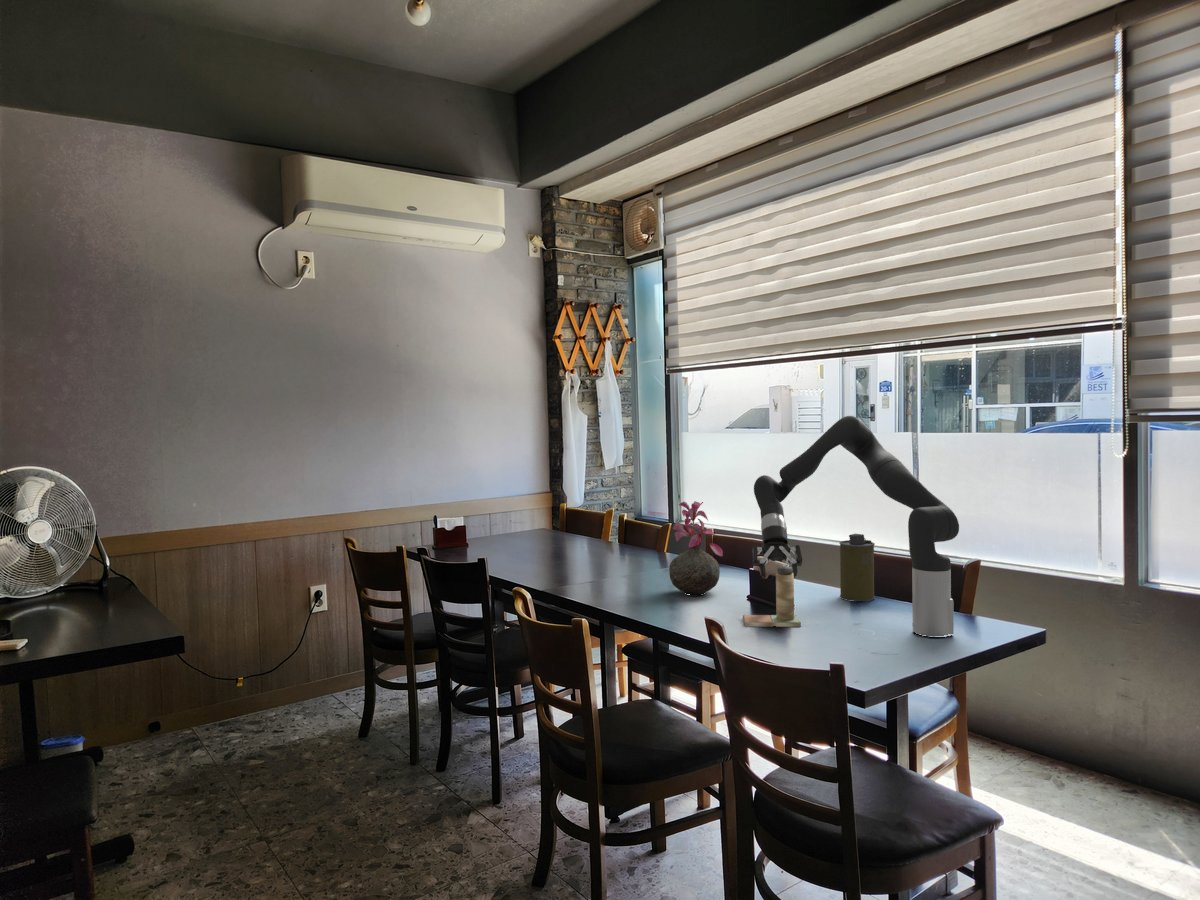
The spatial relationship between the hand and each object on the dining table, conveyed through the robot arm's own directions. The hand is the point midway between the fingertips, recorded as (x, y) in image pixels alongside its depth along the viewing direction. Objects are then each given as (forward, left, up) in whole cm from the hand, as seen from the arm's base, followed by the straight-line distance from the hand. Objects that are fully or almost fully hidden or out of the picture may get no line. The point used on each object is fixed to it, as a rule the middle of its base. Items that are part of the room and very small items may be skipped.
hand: (779, 576), depth 230 cm
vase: (+24, -24, -11) cm, 35 cm away
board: (+4, +11, -11) cm, 16 cm away
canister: (-26, -19, -11) cm, 34 cm away
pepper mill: (0, +11, -9) cm, 14 cm away
